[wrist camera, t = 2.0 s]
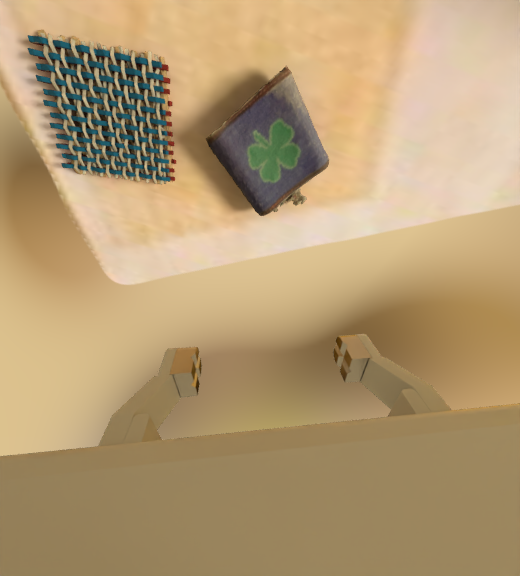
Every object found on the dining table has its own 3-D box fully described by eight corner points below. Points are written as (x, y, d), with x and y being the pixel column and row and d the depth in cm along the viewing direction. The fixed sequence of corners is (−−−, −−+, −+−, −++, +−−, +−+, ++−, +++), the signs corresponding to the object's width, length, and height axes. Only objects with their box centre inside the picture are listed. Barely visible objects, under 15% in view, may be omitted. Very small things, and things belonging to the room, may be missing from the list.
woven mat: (178, 185, 25) (175, 189, 24) (75, 172, 24) (62, 174, 22) (172, 59, 20) (166, 51, 18) (36, 30, 18) (16, 19, 17)
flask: (291, 60, 18) (341, 179, 24) (281, 70, 20) (328, 175, 26) (203, 139, 20) (270, 232, 25) (204, 140, 22) (264, 224, 28)
